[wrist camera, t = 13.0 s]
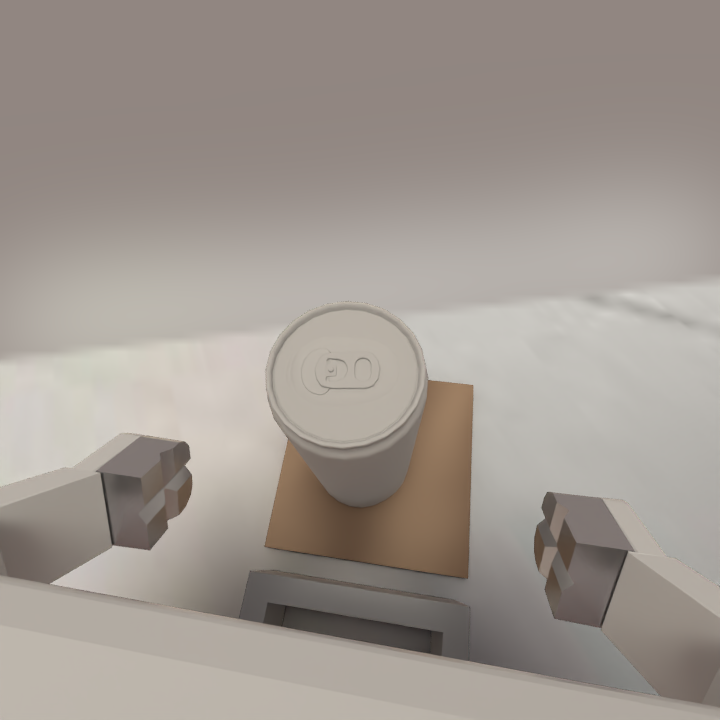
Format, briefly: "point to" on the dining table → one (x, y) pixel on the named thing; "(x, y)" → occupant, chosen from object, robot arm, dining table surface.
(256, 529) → the dining table surface
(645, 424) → the dining table surface
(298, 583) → the can holder
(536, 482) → the dining table surface
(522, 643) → the dining table surface
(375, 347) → the beverage can
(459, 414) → the coaster
